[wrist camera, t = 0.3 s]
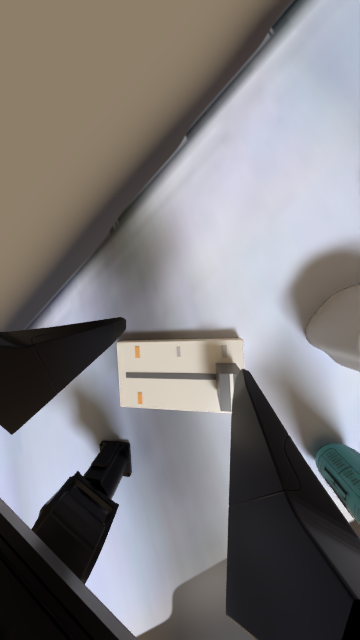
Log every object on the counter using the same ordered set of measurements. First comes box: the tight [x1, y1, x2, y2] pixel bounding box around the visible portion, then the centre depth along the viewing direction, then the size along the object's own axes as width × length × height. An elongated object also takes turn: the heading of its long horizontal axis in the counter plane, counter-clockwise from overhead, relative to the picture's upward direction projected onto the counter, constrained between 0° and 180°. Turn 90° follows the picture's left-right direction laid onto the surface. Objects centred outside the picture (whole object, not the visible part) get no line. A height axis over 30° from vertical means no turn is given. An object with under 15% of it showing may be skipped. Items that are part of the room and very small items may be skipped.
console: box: [117, 338, 245, 413], centre depth 24 cm, size 12×22×2 cm, turn 93°
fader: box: [216, 363, 240, 412], centre depth 19 cm, size 5×3×4 cm, turn 3°
